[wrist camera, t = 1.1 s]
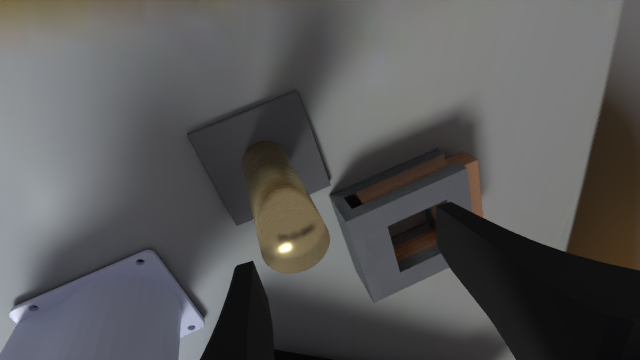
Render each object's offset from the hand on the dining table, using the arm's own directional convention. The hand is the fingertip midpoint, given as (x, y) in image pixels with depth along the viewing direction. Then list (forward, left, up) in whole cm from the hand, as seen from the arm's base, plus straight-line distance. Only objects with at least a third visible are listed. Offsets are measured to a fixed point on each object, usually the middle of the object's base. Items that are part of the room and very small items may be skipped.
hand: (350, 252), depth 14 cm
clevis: (+6, -9, -12) cm, 16 cm away
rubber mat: (-2, 0, -12) cm, 12 cm away
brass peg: (-2, 0, -11) cm, 11 cm away
